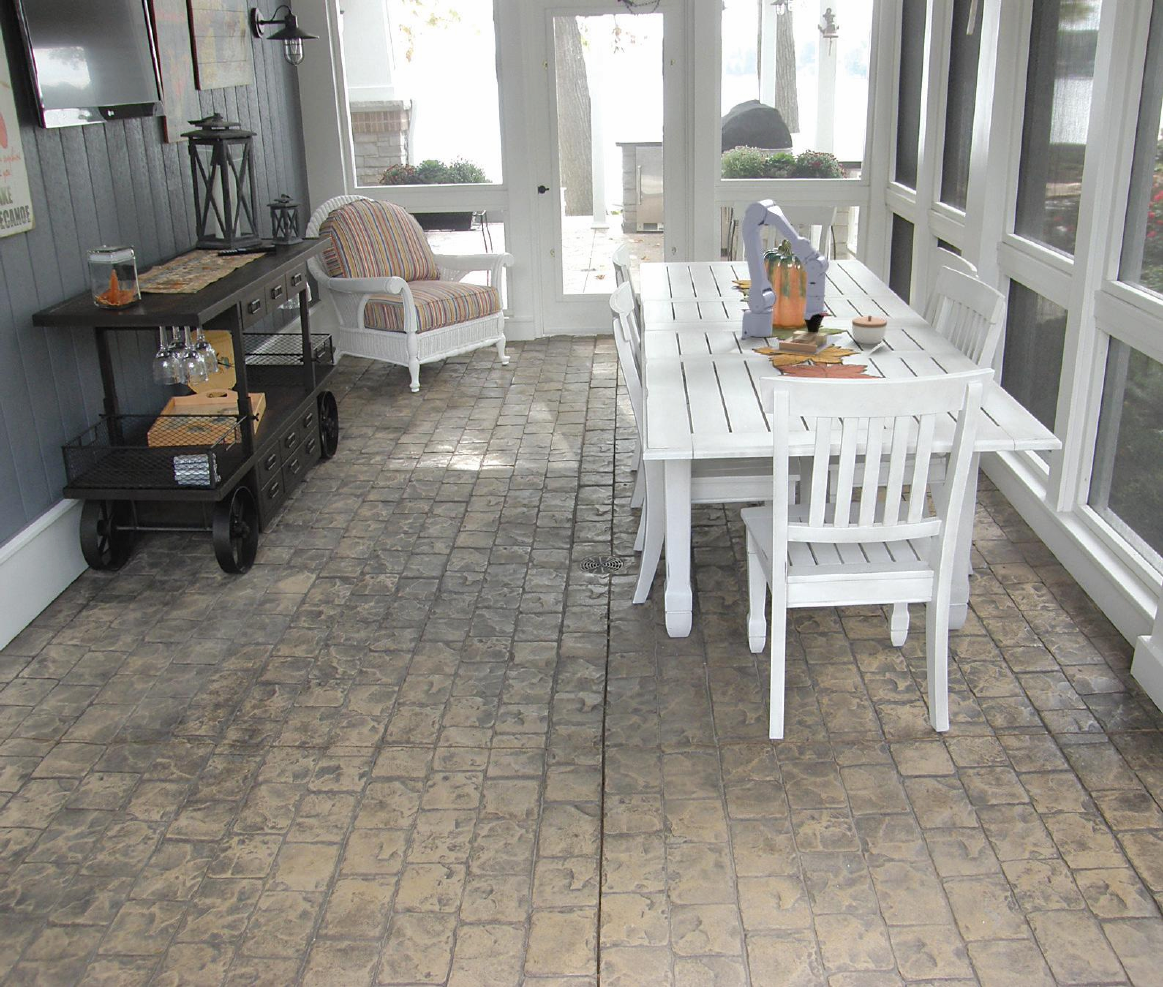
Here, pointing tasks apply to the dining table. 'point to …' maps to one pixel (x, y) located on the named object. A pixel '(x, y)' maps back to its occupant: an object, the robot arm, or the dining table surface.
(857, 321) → the lidded jar
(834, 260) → the dining table surface
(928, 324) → the dining table surface
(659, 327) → the dining table surface
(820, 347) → the board
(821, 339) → the t block
